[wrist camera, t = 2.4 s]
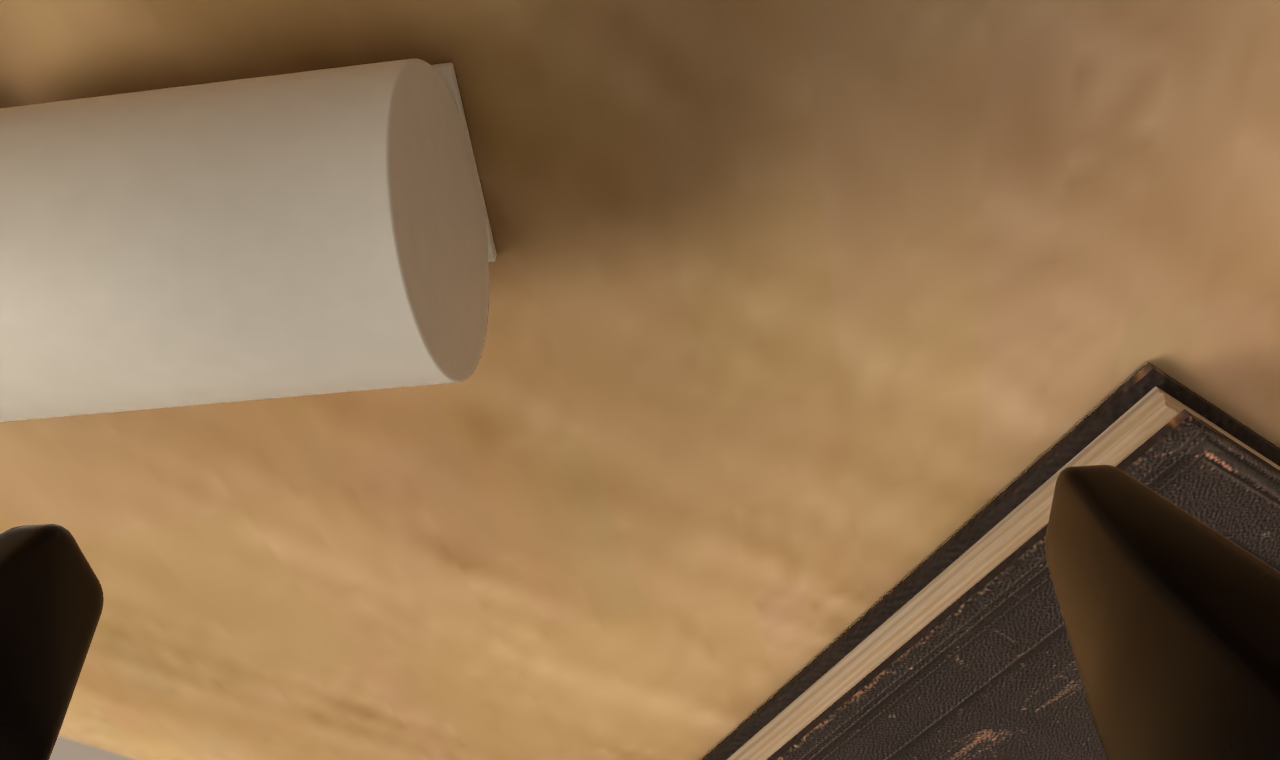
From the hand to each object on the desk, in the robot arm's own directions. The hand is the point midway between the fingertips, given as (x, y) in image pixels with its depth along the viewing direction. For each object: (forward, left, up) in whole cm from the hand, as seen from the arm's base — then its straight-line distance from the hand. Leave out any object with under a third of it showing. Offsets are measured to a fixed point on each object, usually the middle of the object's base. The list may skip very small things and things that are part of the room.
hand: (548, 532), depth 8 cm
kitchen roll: (+7, +4, -10) cm, 13 cm away
